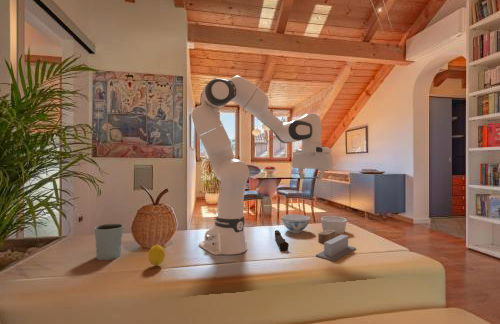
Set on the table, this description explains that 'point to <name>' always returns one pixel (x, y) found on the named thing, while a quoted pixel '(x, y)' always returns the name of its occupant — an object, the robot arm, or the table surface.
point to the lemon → (156, 255)
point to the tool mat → (336, 256)
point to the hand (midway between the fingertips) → (310, 178)
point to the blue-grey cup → (108, 241)
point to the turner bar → (335, 245)
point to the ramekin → (334, 224)
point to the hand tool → (281, 241)
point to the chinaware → (295, 222)
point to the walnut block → (326, 235)
